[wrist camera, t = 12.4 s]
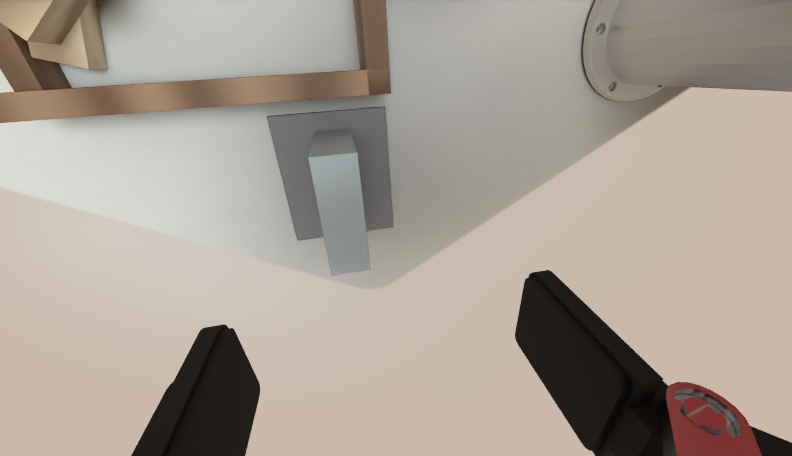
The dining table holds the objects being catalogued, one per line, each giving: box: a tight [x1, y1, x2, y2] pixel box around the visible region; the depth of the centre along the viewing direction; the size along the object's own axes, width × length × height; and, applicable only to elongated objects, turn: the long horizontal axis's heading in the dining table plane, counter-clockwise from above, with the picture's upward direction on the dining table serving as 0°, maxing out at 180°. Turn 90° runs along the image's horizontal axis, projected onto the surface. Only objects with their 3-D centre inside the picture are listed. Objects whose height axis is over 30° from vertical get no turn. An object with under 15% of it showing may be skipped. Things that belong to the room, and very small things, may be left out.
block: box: [308, 128, 371, 276], centre depth 24 cm, size 3×9×9 cm, turn 4°
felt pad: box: [267, 107, 393, 241], centre depth 29 cm, size 10×12×1 cm
